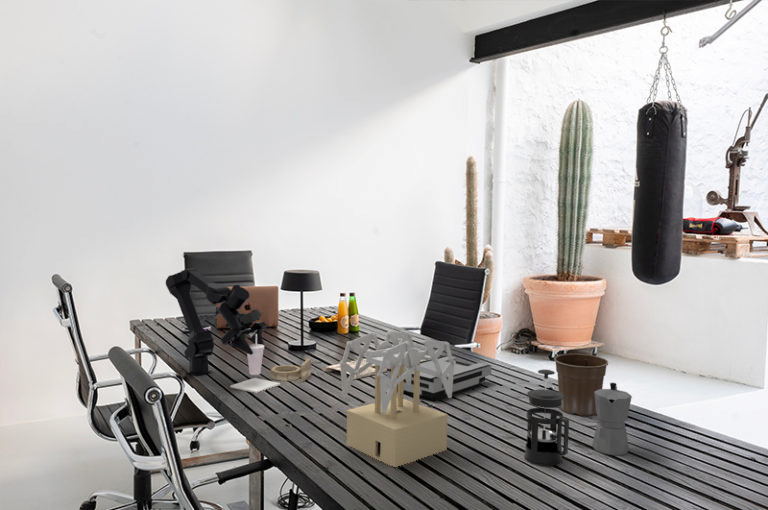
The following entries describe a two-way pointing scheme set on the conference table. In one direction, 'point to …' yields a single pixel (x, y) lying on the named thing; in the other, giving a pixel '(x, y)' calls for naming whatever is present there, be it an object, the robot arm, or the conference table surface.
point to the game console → (462, 378)
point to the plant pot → (579, 381)
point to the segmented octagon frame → (292, 371)
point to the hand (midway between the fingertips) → (258, 352)
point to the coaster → (254, 385)
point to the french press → (541, 440)
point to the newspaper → (365, 373)
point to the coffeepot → (611, 421)
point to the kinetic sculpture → (396, 400)
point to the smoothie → (255, 358)
